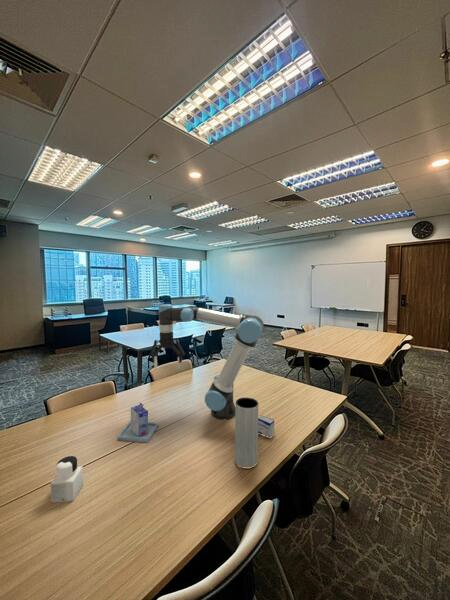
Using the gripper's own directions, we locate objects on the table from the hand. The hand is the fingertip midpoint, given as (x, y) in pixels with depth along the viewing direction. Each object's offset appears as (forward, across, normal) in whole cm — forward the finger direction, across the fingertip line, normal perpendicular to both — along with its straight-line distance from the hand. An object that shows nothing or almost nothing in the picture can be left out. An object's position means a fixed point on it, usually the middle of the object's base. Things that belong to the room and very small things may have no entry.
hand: (167, 368), depth 145 cm
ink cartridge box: (+29, +11, +16) cm, 35 cm away
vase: (+31, -44, +33) cm, 63 cm away
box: (+31, -54, +13) cm, 64 cm away
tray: (+29, +12, +16) cm, 35 cm away
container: (+29, +24, +54) cm, 66 cm away
